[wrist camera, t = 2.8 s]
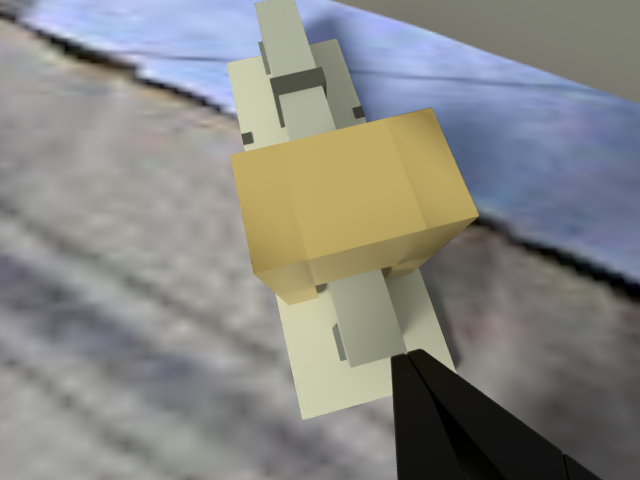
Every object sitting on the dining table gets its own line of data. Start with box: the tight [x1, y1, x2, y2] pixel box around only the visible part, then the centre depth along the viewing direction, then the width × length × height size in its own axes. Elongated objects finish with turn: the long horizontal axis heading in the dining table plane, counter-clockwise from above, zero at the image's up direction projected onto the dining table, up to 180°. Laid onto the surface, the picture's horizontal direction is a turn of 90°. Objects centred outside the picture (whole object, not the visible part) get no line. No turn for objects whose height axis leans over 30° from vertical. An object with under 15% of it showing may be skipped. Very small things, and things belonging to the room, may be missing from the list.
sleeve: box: [230, 107, 479, 305], centre depth 14 cm, size 4×7×8 cm, turn 104°
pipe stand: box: [227, 0, 457, 420], centre depth 18 cm, size 23×8×5 cm, turn 15°
